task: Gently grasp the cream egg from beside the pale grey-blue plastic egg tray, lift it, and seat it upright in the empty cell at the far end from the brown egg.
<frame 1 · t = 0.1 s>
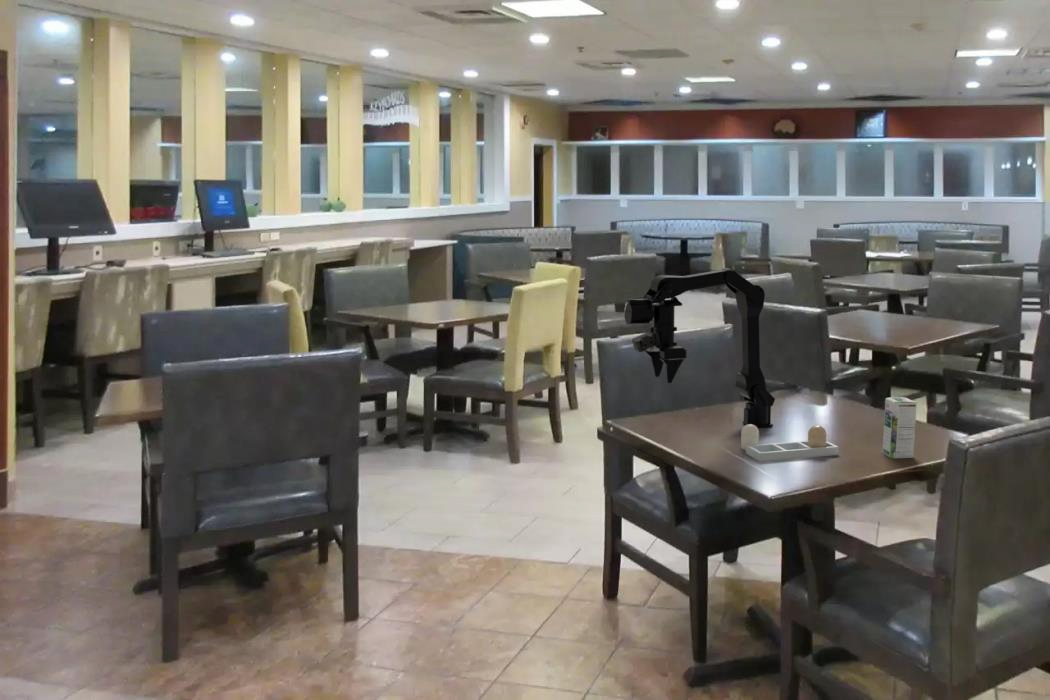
hand: (663, 379, 281), 15 cm above the table, fingers open, 9 cm apart
cream egg: (749, 450, 264), on the table
brown egg: (816, 451, 260), resting on egg tray
egg tray: (791, 455, 258), on the table
syrup box: (897, 457, 256), on the table
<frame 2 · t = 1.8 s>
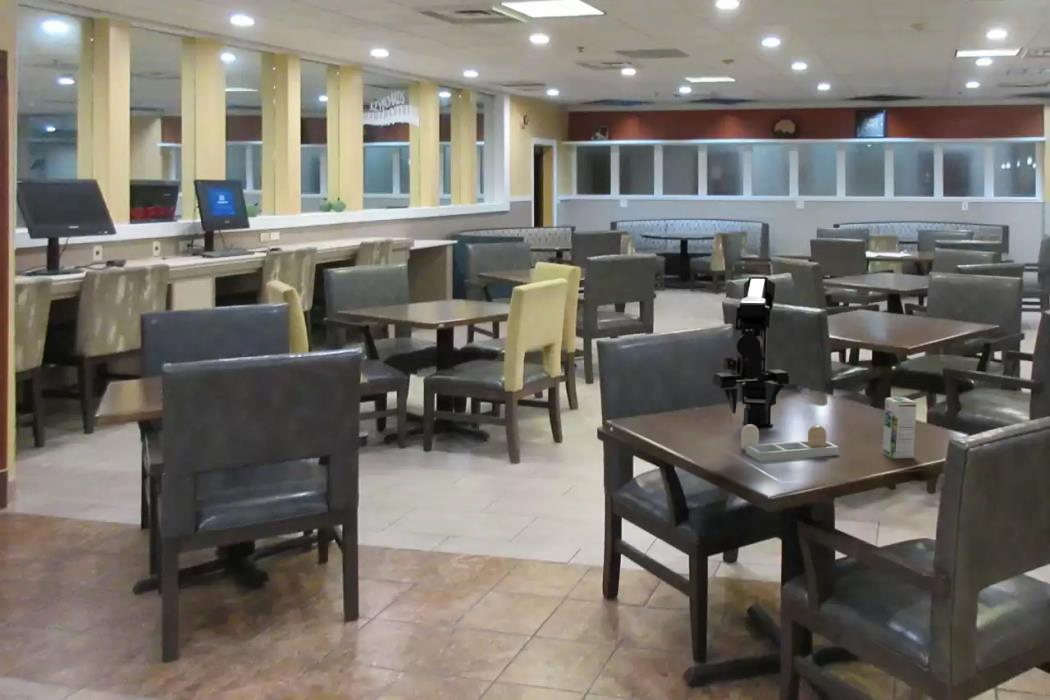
hand: (750, 411, 263), 10 cm above the table, fingers open, 9 cm apart
nothing on the table moved.
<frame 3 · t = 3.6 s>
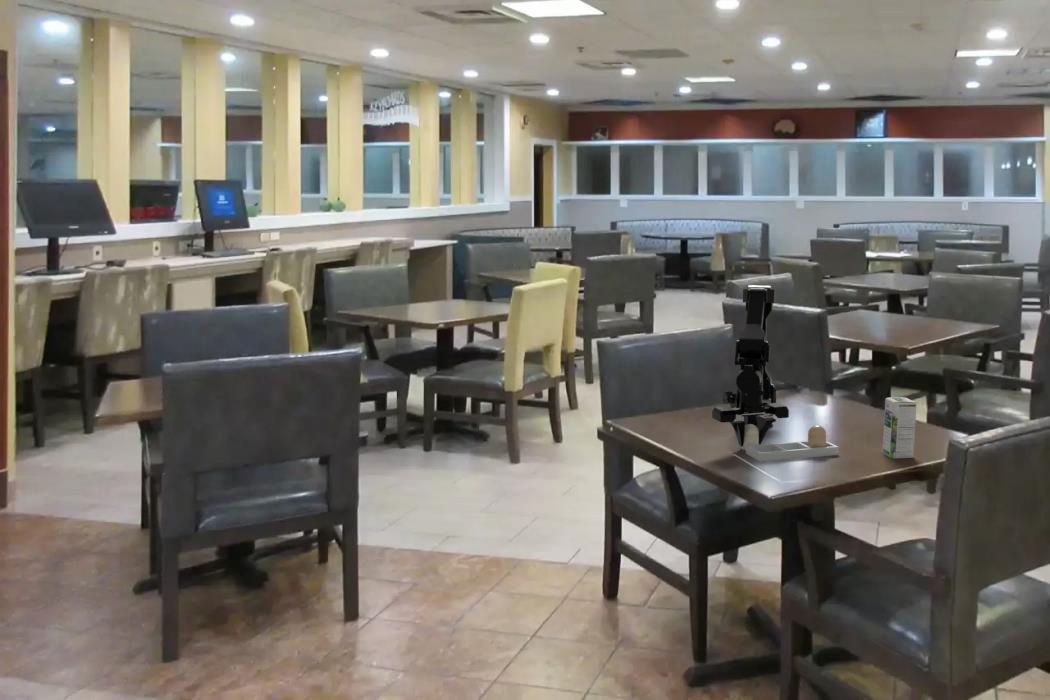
hand: (749, 445, 264), 1 cm above the table, fingers closed on cream egg, 4 cm apart
cream egg: (749, 450, 264), on the table, touching gripper
everything else where it was.
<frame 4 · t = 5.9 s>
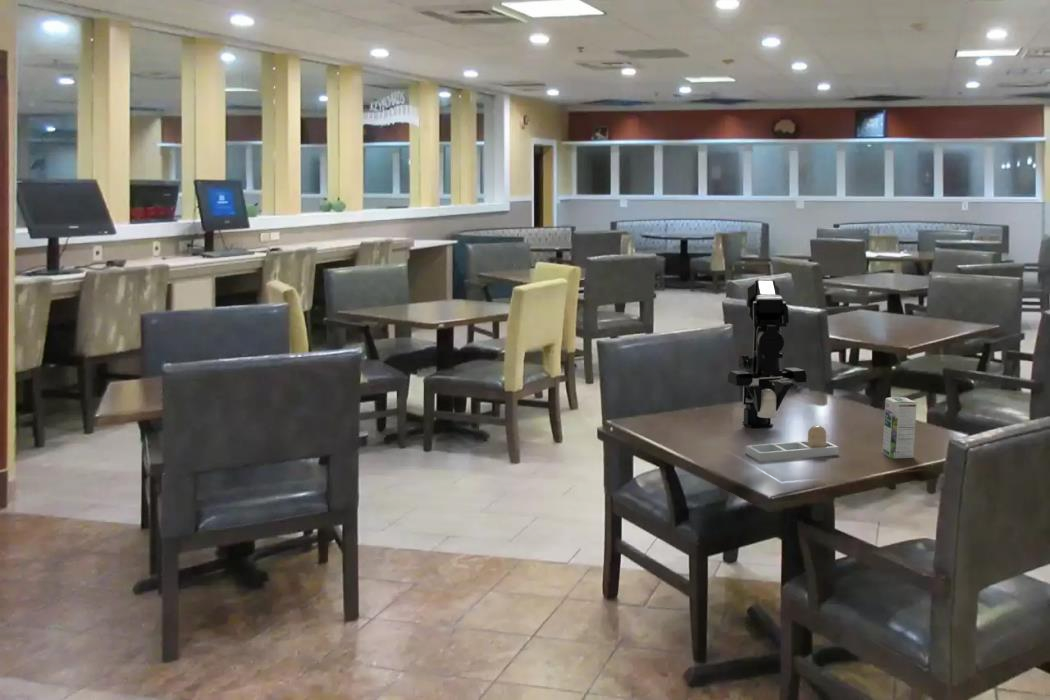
hand: (766, 411, 255), 12 cm above the table, fingers closed on cream egg, 4 cm apart
cream egg: (766, 416, 255), point 11 cm above the table, touching gripper
everything else where it was.
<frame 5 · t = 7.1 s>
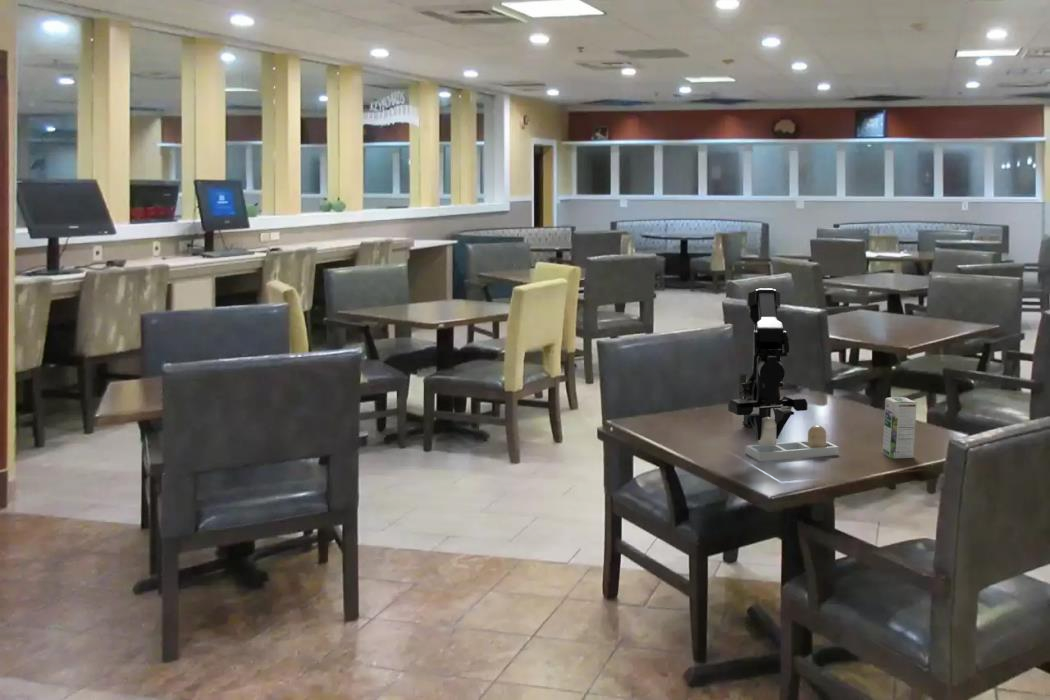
hand: (767, 439, 256), 5 cm above the table, fingers closed on cream egg, 4 cm apart
cream egg: (767, 444, 256), point 4 cm above the table, touching gripper
everything else where it was.
when the fingers open (3 cm above the table, at t = 8.2 s): cream egg drops 1 cm, resting on egg tray.
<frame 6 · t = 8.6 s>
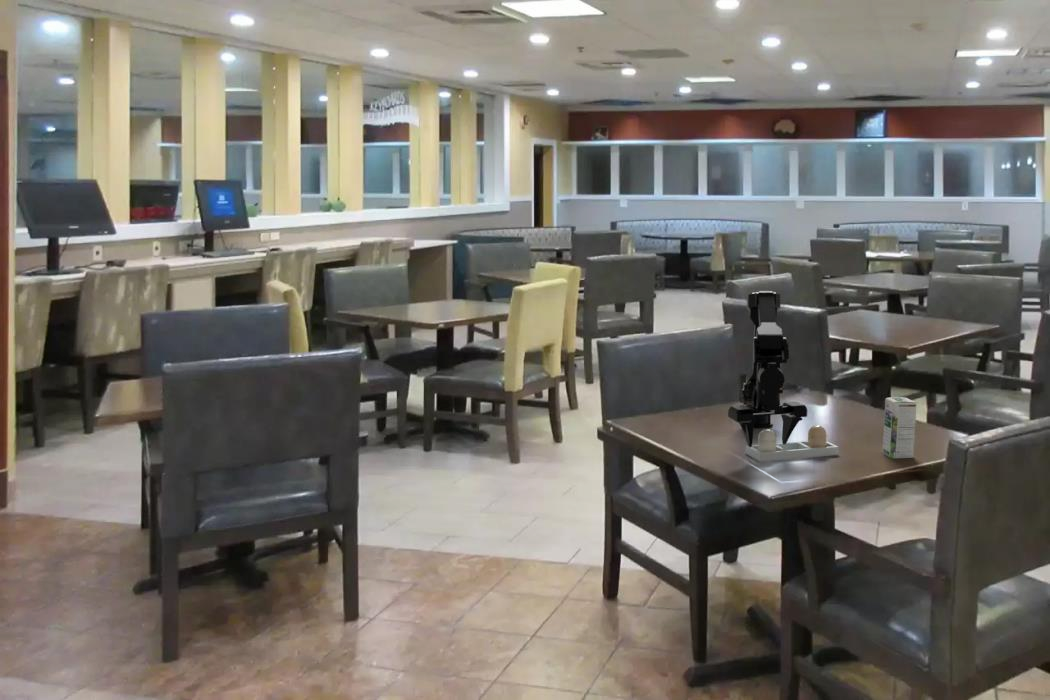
hand: (766, 445, 256), 3 cm above the table, fingers open, 9 cm apart
cream egg: (766, 456, 257), resting on egg tray
everything else where it was.
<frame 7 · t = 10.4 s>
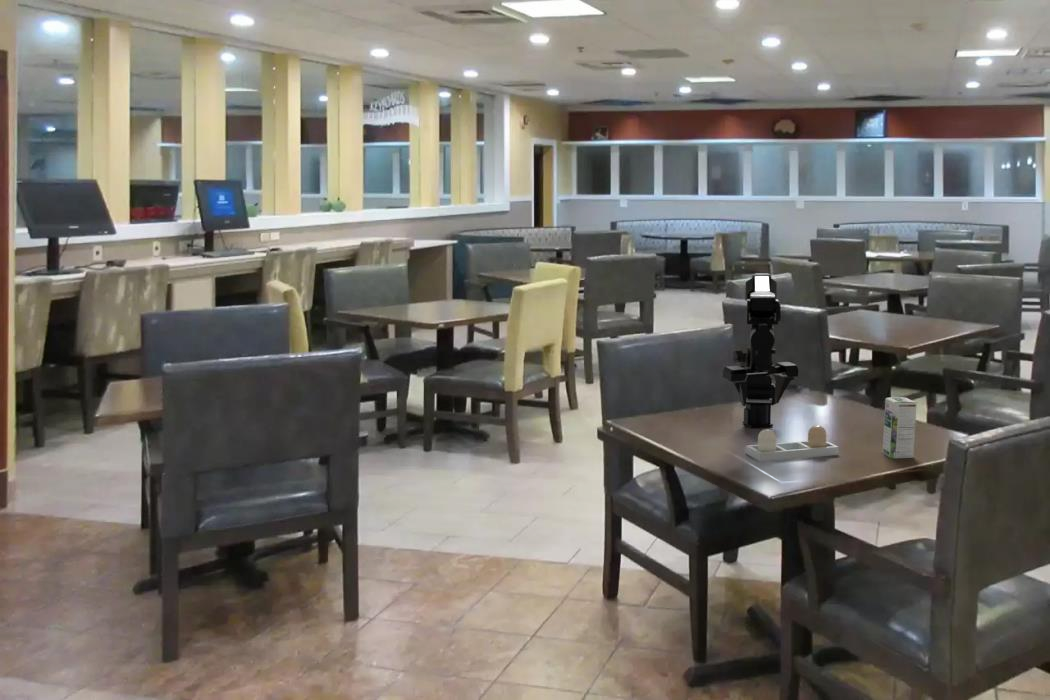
hand: (760, 404, 265), 11 cm above the table, fingers open, 9 cm apart
nothing on the table moved.
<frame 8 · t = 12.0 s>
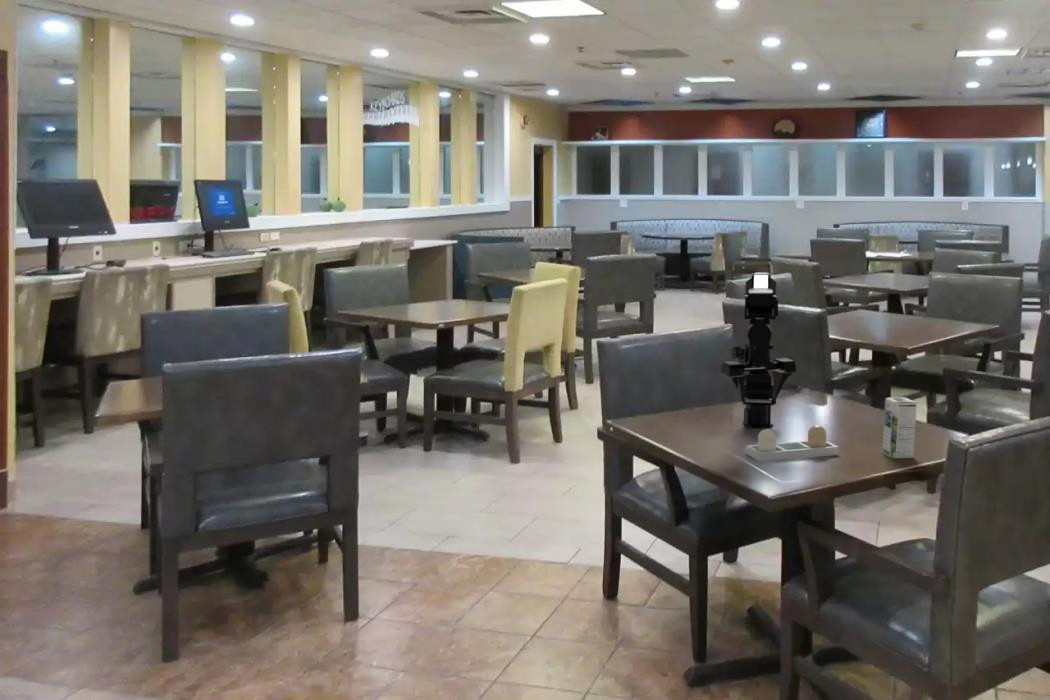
hand: (758, 399, 267), 12 cm above the table, fingers open, 9 cm apart
nothing on the table moved.
at the end: cream egg 0.0 cm from the target spot on the egg tray, point 0.5 cm above the egg tray's base; cream egg tilted 0°; the gripper is holding nothing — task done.
